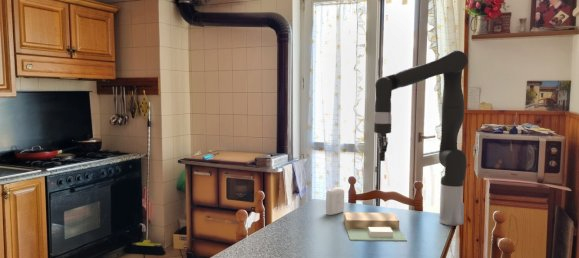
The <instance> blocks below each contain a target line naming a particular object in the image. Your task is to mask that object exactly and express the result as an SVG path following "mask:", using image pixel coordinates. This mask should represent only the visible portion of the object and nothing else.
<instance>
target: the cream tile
mask: <svg viewBox="0 0 579 258" xmlns="http://www.w3.org/2000/svg"><path fill="white" fill-rule="evenodd" d="M368 233H369V235H370V237H393V231H392V229H391V228H390V227H368Z"/></svg>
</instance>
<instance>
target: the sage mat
mask: <svg viewBox="0 0 579 258" xmlns="http://www.w3.org/2000/svg"><path fill="white" fill-rule="evenodd" d="M346 231H347V234H348V238H349V240H350V241H356V242H357V241H358V242H359V241H360V242H361V241H365V242H367V241H368V242H369V241H372V242H373V241H374V242H375V241H376V242H407V241H408V240H407V238H406V237H405V236H404V234H403V232H402V231H401V230H400V229H399V230H396V229H392V231H393V237H370V235H369V233H368V229H346Z"/></svg>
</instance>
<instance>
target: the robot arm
mask: <svg viewBox="0 0 579 258" xmlns="http://www.w3.org/2000/svg"><path fill="white" fill-rule="evenodd" d="M468 62H469V58H468V55H467V54H466V53H465V52H463V51H461V50H452V51H450V52H447V53H446V54H445V55H444V56H442V57H439V58H438V59H434V60H433V61H430V62H427V63H423V64H420V65H415V66H413V67H409V68H407V69H403V70H401V71H398V72H396V73H393V74H390V75H389V74H388V75H387V76H381V77H379V78H378V79H377V80H376V81H375V105H374V118H373V121H374V122H373V132H374V134H378V136H377V138H376V140H377V149H378V153H379V155H378V156H379V158H378V159H379V160H378V161H380V162H385V161H386V152H387V151H388V149H387V148H388V145H389V142H388V137H387V134H391V133H392V91H394V90H397V89H400V88H405V87H408V86H411V85H414V84H417V83H420V82H421V81H425V80H427V79H430V78H433V77H436V76H439V75H443V89H442V90H443V91H442V101H441V128H440V129H441V136H440V145H439V150H438V151H439V152H438V160H439V163H440V165H441V166H442V167H444V168H445V169H444V175H443V176H442V177H441V178H440V192H439V193H440V197H439V223H440V224H442V225H446V226H463V225H464V221H465V220H464V217H465V214H464V213H465V203H464V202H463V198H464V197H463V195H464V181H465V179H466V174H467V173H466V172H467V156H466V153H465V152H463V150H461V149H458V136H459V132H460V130H461V128H462V125H463V122H464V119H465V98H464V97H465V96H464V93H463V86H462V77H463V70H465V69H466V67H467V65H468Z"/></svg>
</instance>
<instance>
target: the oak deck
mask: <svg viewBox="0 0 579 258" xmlns="http://www.w3.org/2000/svg"><path fill="white" fill-rule="evenodd" d="M343 223H344V225H345V229H346V230H347V229H368V227H390V228H391V229H396V230H400V219H399V218H398V217H397V215H396V214H395V213H394V212H362V211H361V212H356V211H354V212H349V211H348V212H347V211H346V212H345V211H344V212H343Z"/></svg>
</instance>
